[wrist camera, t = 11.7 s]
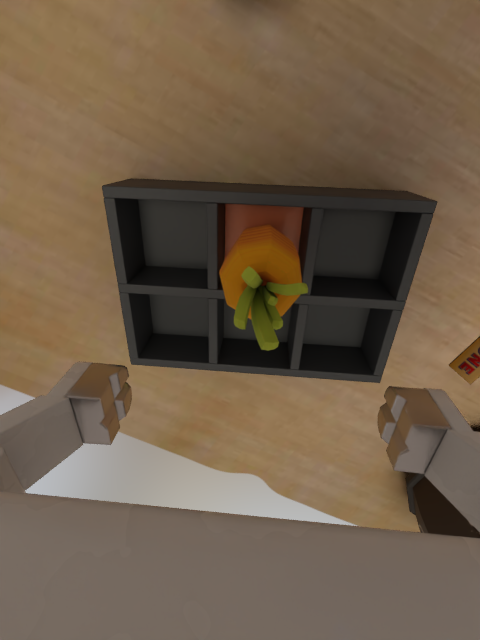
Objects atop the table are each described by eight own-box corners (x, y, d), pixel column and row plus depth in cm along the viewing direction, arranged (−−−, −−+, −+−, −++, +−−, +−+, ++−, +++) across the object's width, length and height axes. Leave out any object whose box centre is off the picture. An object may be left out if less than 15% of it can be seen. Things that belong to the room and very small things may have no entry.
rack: (130, 178, 27) (101, 185, 22) (407, 190, 26) (438, 201, 21) (149, 334, 34) (130, 364, 30) (364, 349, 33) (380, 383, 28)
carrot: (240, 200, 26) (212, 257, 13) (299, 213, 26) (333, 283, 13) (229, 258, 28) (197, 356, 15) (283, 269, 28) (298, 377, 15)
